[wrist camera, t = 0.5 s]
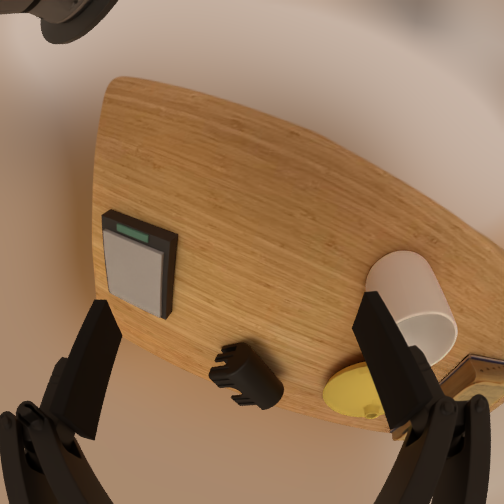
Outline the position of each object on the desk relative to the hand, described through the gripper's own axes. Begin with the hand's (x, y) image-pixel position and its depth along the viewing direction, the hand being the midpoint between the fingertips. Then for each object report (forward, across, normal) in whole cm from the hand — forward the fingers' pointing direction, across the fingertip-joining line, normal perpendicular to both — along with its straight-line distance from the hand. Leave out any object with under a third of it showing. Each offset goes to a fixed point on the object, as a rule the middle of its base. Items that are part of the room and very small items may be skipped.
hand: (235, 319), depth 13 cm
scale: (+22, -14, -11) cm, 28 cm away
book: (+3, +41, -33) cm, 53 cm away
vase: (+10, +21, -27) cm, 36 cm away
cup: (+11, +19, -9) cm, 24 cm away
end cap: (+16, +2, -26) cm, 31 cm away
